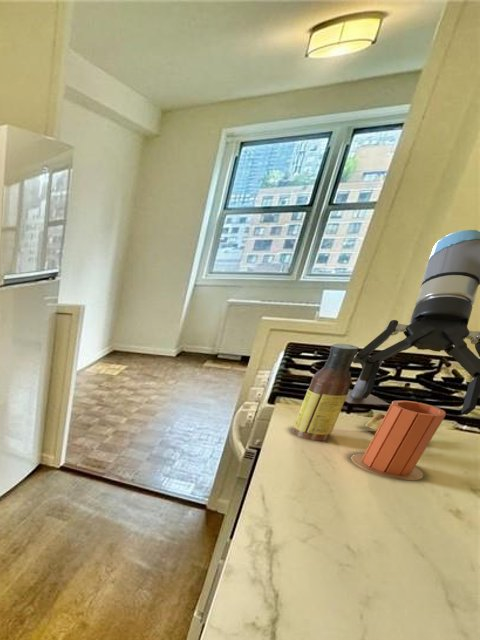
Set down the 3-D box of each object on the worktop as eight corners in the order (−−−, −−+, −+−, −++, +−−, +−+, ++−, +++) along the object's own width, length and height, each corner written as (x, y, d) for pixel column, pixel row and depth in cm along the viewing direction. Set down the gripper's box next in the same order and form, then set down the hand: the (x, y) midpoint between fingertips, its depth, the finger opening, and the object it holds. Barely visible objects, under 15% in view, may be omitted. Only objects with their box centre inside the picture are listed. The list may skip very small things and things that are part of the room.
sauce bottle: (333, 438, 103) (377, 347, 94) (319, 445, 100) (363, 353, 91) (297, 427, 108) (335, 339, 99) (283, 433, 105) (321, 344, 96)
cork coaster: (394, 457, 96) (395, 454, 96) (437, 484, 87) (438, 481, 87) (338, 454, 97) (339, 451, 97) (374, 480, 89) (376, 477, 88)
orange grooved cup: (391, 457, 95) (424, 401, 89) (421, 476, 88) (457, 416, 83) (352, 455, 95) (382, 399, 90) (379, 473, 89) (412, 415, 84)
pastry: (430, 442, 101) (440, 426, 99) (414, 450, 98) (424, 433, 96) (374, 425, 108) (382, 409, 106) (358, 431, 106) (366, 416, 104)
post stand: (361, 396, 123) (383, 352, 117) (388, 410, 115) (413, 364, 109) (322, 394, 124) (342, 351, 118) (346, 408, 116) (368, 363, 111)
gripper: (528, 325, 90) (502, 427, 86) (350, 310, 103) (322, 397, 100) (556, 301, 83) (529, 409, 80) (363, 288, 97) (334, 380, 94)
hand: (414, 403), depth 90 cm, fingers open, 13 cm apart
